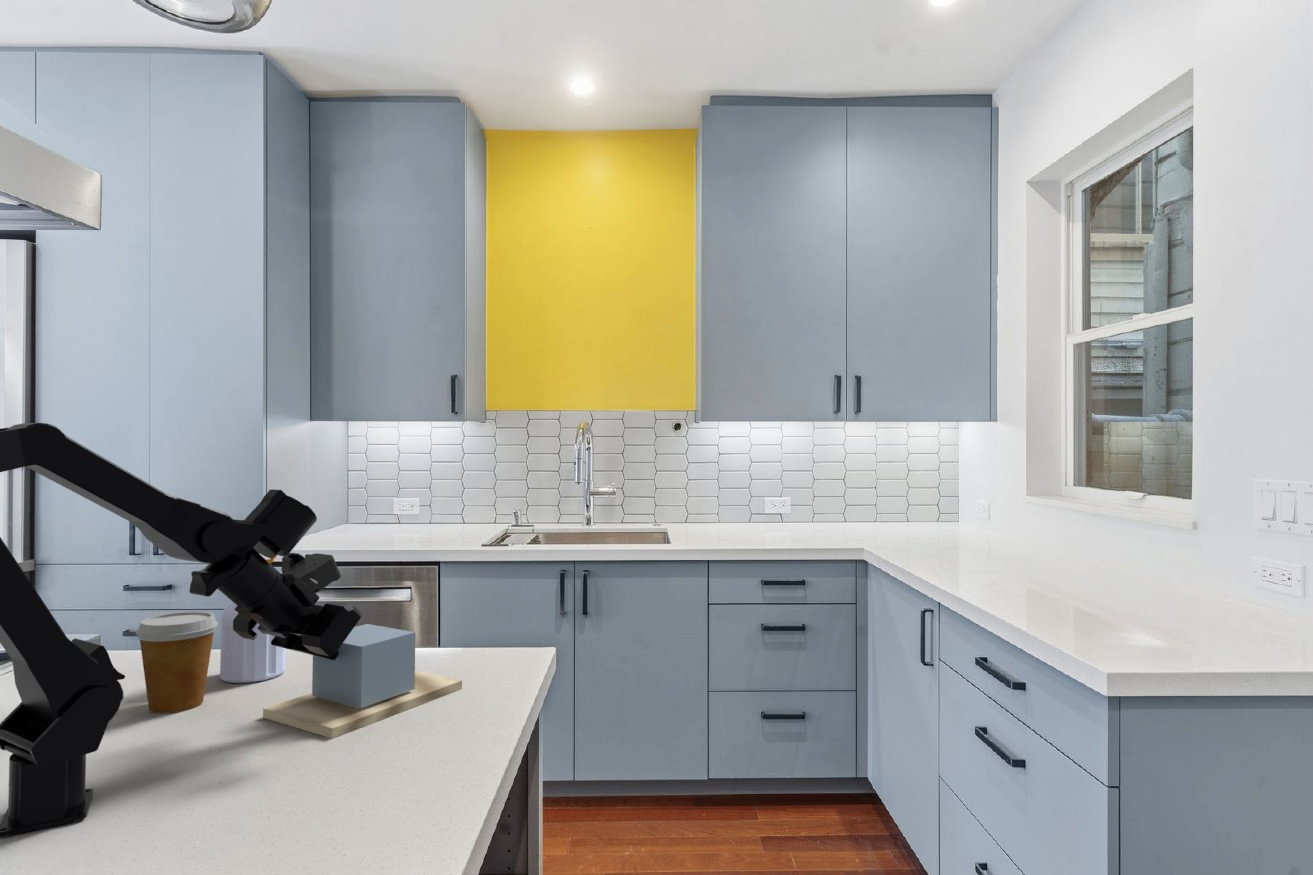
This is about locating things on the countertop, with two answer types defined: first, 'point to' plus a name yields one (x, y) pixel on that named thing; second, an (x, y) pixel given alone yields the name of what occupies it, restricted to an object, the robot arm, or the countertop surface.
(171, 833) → the countertop surface
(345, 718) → the flat panel
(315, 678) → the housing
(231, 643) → the soap bottle
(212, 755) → the countertop surface
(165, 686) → the disposable coffee cup
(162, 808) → the countertop surface
